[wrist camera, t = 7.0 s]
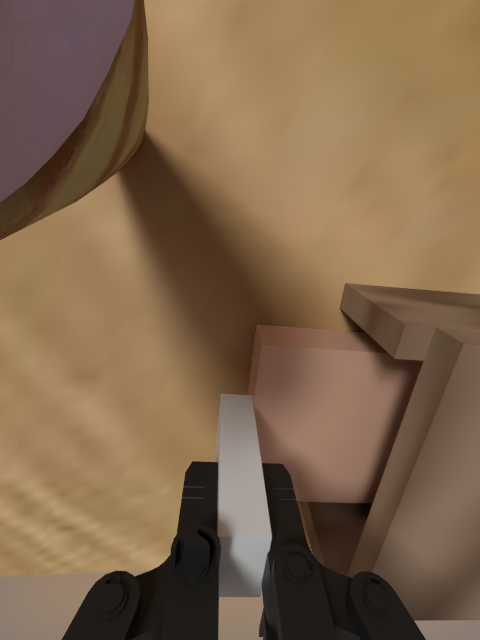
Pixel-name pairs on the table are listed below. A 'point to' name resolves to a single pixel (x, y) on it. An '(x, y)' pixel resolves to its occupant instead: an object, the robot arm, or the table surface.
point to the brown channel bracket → (418, 460)
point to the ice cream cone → (67, 101)
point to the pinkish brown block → (328, 408)
